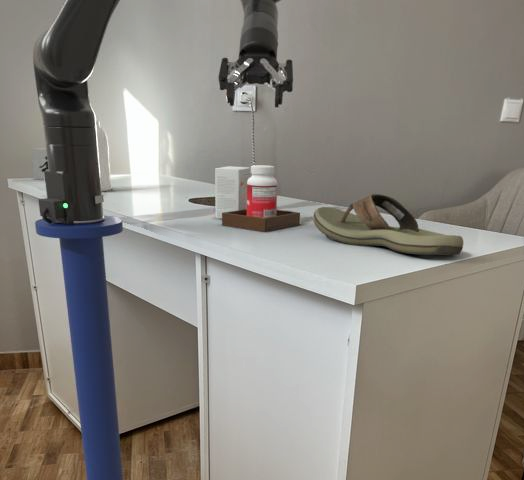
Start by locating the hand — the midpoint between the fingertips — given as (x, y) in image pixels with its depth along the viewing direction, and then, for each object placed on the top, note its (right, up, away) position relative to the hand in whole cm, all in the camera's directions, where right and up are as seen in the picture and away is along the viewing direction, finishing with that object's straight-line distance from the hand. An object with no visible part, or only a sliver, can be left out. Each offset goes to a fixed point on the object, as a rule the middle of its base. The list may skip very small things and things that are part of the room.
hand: (254, 103), depth 105 cm
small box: (-5, -17, +19) cm, 26 cm away
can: (-50, +2, +63) cm, 81 cm away
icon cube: (-74, +15, +96) cm, 122 cm away
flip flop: (+23, -28, -7) cm, 37 cm away
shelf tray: (+1, -21, +10) cm, 23 cm away
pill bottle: (+1, -20, +10) cm, 23 cm away
